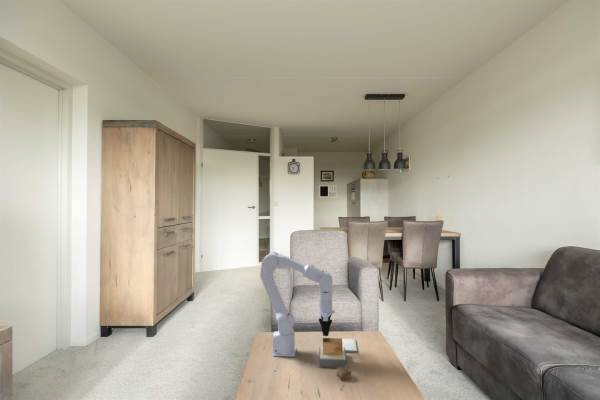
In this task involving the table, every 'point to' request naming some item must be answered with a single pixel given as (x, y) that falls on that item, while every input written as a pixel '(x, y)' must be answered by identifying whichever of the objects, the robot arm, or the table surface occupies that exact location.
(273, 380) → the table surface
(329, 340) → the block
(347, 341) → the hard drive
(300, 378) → the table surface
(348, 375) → the walnut block
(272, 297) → the robot arm
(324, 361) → the stand
